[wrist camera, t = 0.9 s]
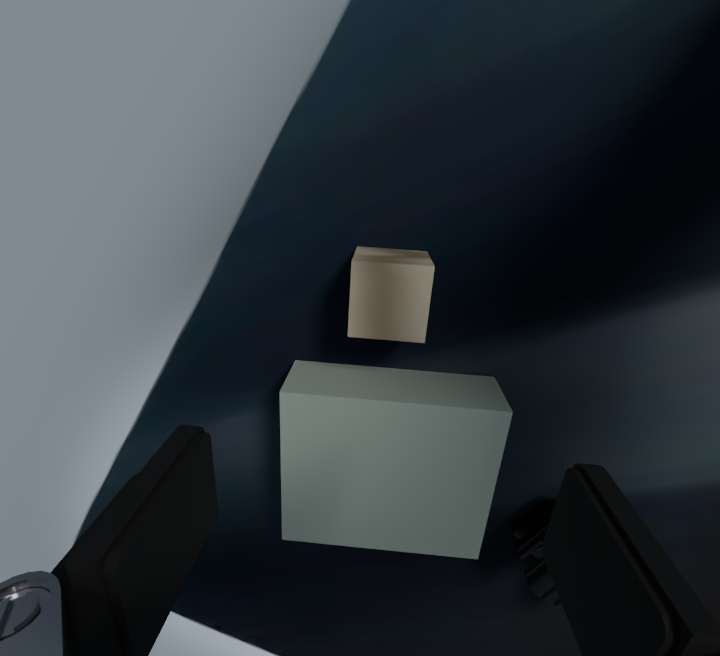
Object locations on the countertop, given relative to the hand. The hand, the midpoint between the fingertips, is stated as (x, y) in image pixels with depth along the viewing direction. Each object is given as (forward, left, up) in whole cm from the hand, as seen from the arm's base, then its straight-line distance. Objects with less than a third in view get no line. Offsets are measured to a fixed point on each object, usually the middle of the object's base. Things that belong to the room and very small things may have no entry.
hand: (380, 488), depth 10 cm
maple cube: (0, 0, -20) cm, 20 cm away
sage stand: (-1, +14, -20) cm, 25 cm away
